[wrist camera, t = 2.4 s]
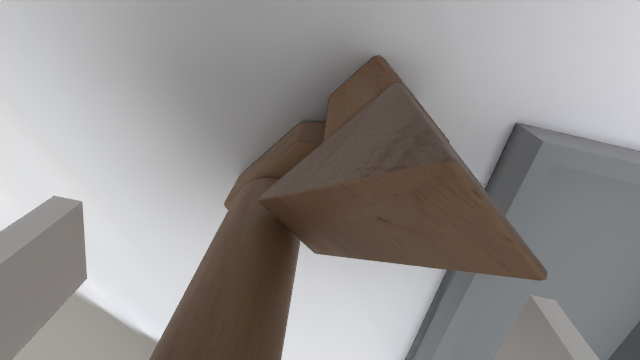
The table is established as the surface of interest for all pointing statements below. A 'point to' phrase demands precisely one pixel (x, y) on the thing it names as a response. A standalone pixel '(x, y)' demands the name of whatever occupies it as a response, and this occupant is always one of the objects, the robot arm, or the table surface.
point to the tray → (552, 250)
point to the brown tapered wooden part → (340, 218)
